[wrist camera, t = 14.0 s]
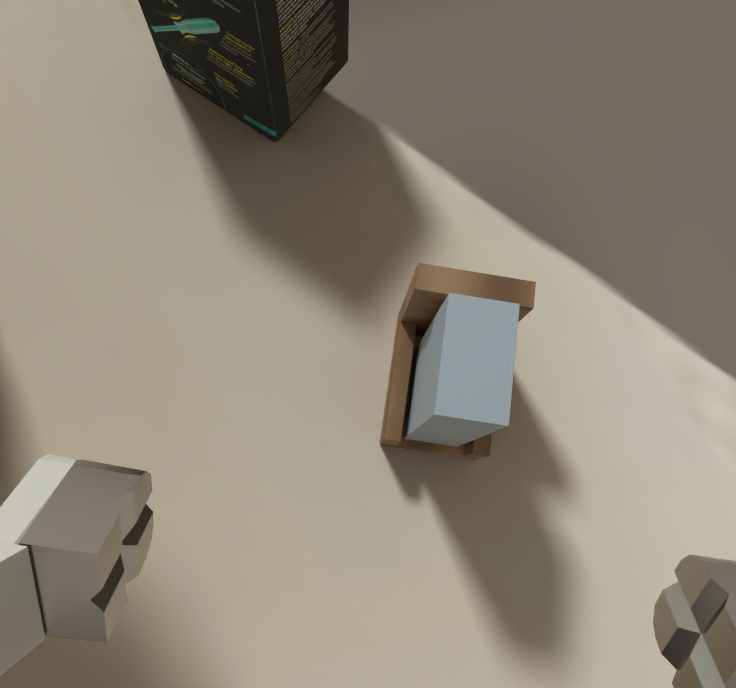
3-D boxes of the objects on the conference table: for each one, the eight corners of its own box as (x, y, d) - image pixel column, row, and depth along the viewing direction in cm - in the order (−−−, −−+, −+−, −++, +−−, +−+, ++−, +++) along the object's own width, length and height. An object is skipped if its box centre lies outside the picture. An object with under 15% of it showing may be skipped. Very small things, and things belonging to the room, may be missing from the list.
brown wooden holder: (379, 444, 41) (395, 427, 31) (398, 315, 43) (418, 262, 34) (476, 459, 41) (521, 446, 31) (489, 330, 43) (535, 281, 34)
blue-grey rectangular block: (403, 438, 40) (434, 414, 29) (415, 350, 42) (449, 292, 30) (456, 446, 40) (508, 426, 29) (466, 358, 42) (519, 303, 30)
